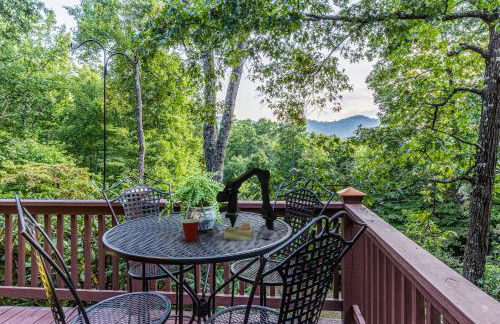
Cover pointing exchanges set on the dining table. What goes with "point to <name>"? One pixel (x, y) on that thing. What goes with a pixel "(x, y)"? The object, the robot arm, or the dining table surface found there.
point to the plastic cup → (190, 229)
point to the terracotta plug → (246, 226)
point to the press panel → (239, 233)
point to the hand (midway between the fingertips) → (232, 227)
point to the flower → (264, 232)
